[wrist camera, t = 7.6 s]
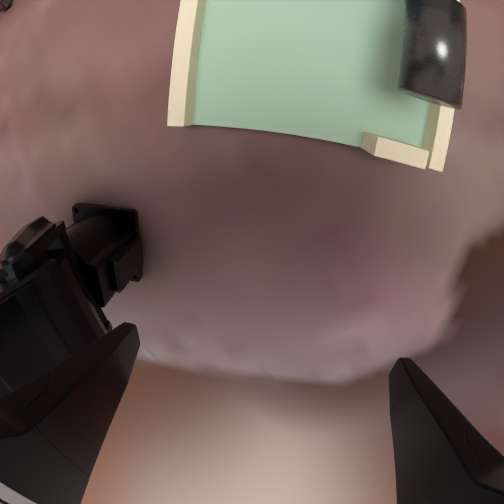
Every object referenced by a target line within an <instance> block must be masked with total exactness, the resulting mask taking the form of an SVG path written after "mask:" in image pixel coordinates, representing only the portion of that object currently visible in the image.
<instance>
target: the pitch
mask: <svg viewBox="0 0 504 504" xmlns="http://www.w3.org/2000/svg"><path fill="white" fill-rule="evenodd" d="M457 1H459V2H460V0H457ZM403 21H404V0H181V3H180V9H179V15H178V22H177V29H176V36H175V44H174V52H173V61H172V70H171V81H170V92H169V105H168V121H167V126H188V125H208V126H222V127H234V128H244V129H253V130H262V131H270V132H278V133H285V134H292V135H298V136H304V137H310V138H316V139H322V140H327V141H332V142H337V143H342V144H347V145H352V146H356V147H361V148H362V149H364V150H366V151H367V152H369V153H370V154H372V155H374V156H377V157H381V158H385V159H389V160H393V161H397V162H400V163H404V164H408V165H411V166H415V167H418V168H422V169H425V168H426V167H428V168H431V169H434V170H437V171H440V172H442V171H443V167H444V162H445V158H446V153H447V149H448V144H449V139H450V133H451V128H452V122H453V115H454V109H453V108H448V107H444V106H440V105H437V104H433V103H430V102H427V101H424V100H421V99H418V98H415V97H412V96H409V95H407V94H404V93H402V92H400V91H399V90H398V89H397V88H398V80H399V71H400V62H401V51H402V38H403Z"/></svg>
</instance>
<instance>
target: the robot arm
mask: <svg viewBox="0 0 504 504" xmlns="http://www.w3.org/2000/svg"><path fill="white" fill-rule="evenodd" d="M77 208H78V210H79V211H78V210H77ZM72 212H73V219H74V224H73V225H71V226H70V227H68V228H67V229H66V226H65V223H64V221H60V222H57V223H51V221H50V222H49V221H48V220H47V219H46V218H44V217H43V216H42V217H39V218H37V219H35V220H34V221H32V222H31V223H29V224H28V225H26V226H25V227H23V228H22V229H21V230H20V231H19V232H18V233H17V234H16V235H15V236H14V237H13V238H12V240H11V241H10V242H9V243H8V244H7V245H6V246H5V247H4V249H3V251H2V252H1V254H0V504H81V501H82V498H83V495H84V493H85V490H86V487H87V484H88V481H89V479H90V475H91V473H92V470H93V467H94V465H95V462H96V459H97V457H98V454H99V451H100V449H101V446H102V444H103V442H104V439H105V437H106V434H107V431H108V429H109V427H110V424H111V422H112V420H113V417H114V415H115V412H116V410H117V408H118V405H119V403H120V401H121V398H122V396H123V394H124V391H125V389H126V387H127V384H128V381H129V379H130V375H131V372H132V369H133V366H134V362H135V359H136V356H137V353H138V350H139V347H140V340H139V335H138V331H137V327H136V325H135V324H131V323H127V322H125V323H122V324H121V325H119V326H118V327H116V328H114V329H113V330H112V325H111V323H110V321H108V320H107V318H106V317H105V315H104V313H103V311H102V309H101V307H105V306H106V304H107V303H108V302H109V300H110V299H111V298H112V297H113V295H114V294H115V293H116V292H118V293H120V292H121V291H122V290H123V289H124V288H125V286H126V285H127V284H128V282H129V281H135V282H139V281H140V280H141V278H142V276H143V275H142V265H143V259H142V248H141V238H140V236H139V230H138V215H137V212H136V211H135V210H133V209H127V208H118V207H109V206H100V205H90V204H81V203H77V204H75V205H74V206H73V207H72ZM129 214H131V215H132V217H133V218H131V217H130V215H129ZM65 229H66V230H65ZM135 274H136V275H137V276H138V277H137V276H136V275H135ZM389 395H390V396H389V397H390V419H391V428H392V436H393V447H394V459H395V472H396V490H397V504H504V456H503V455H502V454H501V453H500V452H499V451H498V450H497V449H495V448H494V447H493V446H492V445H491V444H490V443H489V442H488V441H487V440H486V439H485V438H484V437H483V436H482V435H481V434H480V433H479V432H478V431H477V430H476V429H475V427H473V425H472V424H471V423H470V422H469V421H467V419H466V417H465V416H464V415H463V414H462V413H461V412H460V411H459V410H458V409H457V408H456V406H454V404H453V403H452V402H451V401H450V400H449V399H448V398H447V397H446V395H445V394H444V393H443V392H442V391H441V390H440V389H439V388H438V387H437V386H436V385H435V384H434V383H433V381H432V380H431V379H430V378H429V377H428V376H427V375H426V374H425V373H424V372H423V371H422V370H421V369H420V368H419V367H418V366H417V365H416V364H415V362H414V361H413V360H412V359H411V358H405V357H401V358H399V359H398V360H397V361H396V363H395V365H394V366H393V368H392V370H391V371H390V374H389Z"/></svg>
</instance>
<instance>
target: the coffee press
mask: <svg viewBox="0 0 504 504" xmlns="http://www.w3.org/2000/svg"><path fill="white" fill-rule="evenodd" d="M3 2H4V5H5V6H4V5H3V4H2V3H1V2H0V12H2V11H3V10H5V9H6V8H8V7H9V6H10V5H11V4H12V0H3Z"/></svg>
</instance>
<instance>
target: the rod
mask: <svg viewBox="0 0 504 504" xmlns="http://www.w3.org/2000/svg"><path fill="white" fill-rule="evenodd" d="M466 47H467V16H466V9H465V7H464V6H463V5H462V4H461V3H460V2H459V1H457V0H404V21H403V38H402V51H401V62H400V71H399V80H398V88H397V89H398V90H399V91H400V92H402V93H404V94H407V95H409V96H412V97H415V98H418V99H421V100H424V101H427V102H430V103H433V104H437V105H440V106H444V107H448V108H453V109H461V106H462V98H463V90H464V80H465V67H466Z"/></svg>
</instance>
